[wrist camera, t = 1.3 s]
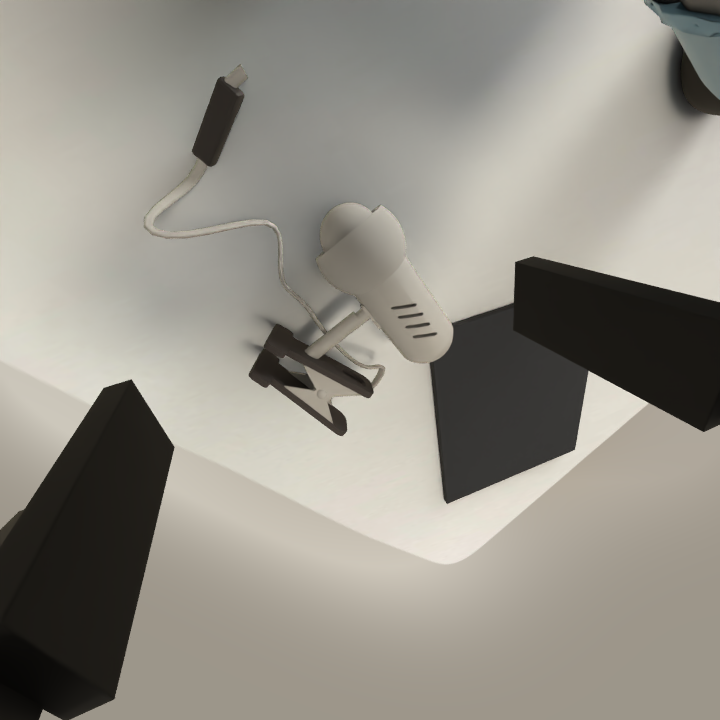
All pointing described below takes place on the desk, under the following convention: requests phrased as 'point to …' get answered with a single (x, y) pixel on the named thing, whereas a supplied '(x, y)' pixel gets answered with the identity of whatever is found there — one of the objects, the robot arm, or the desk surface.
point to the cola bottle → (697, 89)
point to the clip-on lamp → (341, 269)
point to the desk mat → (501, 403)
